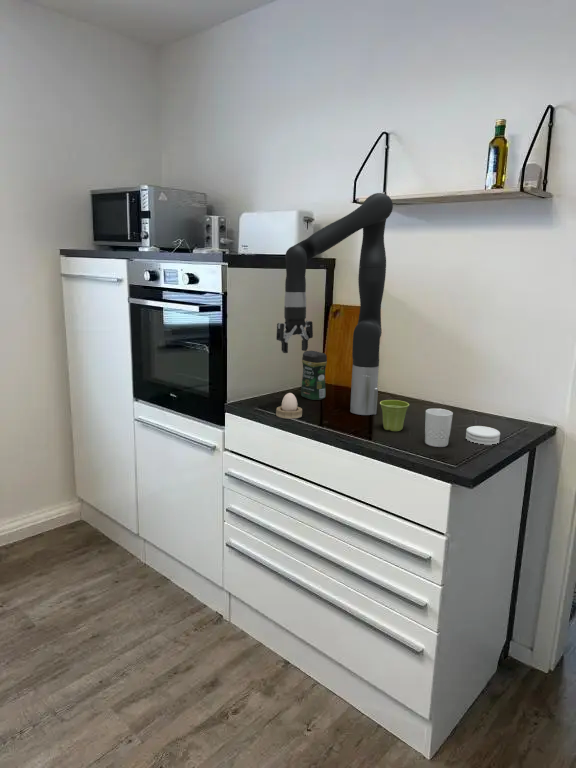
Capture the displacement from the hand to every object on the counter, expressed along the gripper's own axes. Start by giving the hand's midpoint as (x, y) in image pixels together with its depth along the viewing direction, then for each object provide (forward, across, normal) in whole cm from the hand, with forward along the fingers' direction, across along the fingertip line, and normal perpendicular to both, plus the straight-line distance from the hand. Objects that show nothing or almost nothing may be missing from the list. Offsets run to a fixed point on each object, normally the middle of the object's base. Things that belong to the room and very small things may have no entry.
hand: (294, 351), depth 198 cm
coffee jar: (+22, -19, -12) cm, 31 cm away
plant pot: (+22, -14, +34) cm, 43 cm away
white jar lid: (+23, -30, +58) cm, 69 cm away
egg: (+22, +4, +3) cm, 22 cm away
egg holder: (+22, +5, +3) cm, 22 cm away
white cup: (+23, -14, +52) cm, 58 cm away
